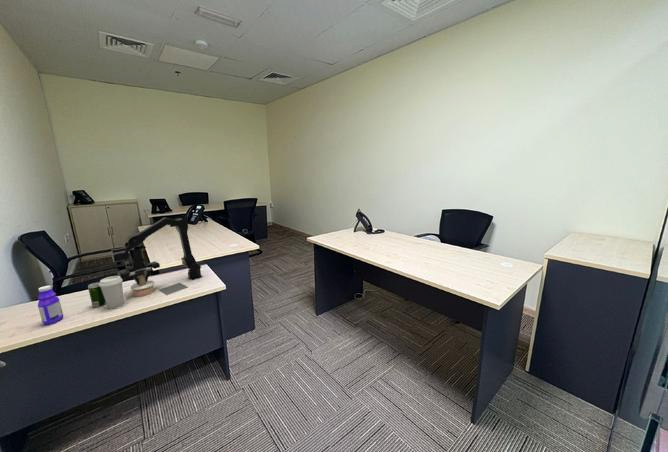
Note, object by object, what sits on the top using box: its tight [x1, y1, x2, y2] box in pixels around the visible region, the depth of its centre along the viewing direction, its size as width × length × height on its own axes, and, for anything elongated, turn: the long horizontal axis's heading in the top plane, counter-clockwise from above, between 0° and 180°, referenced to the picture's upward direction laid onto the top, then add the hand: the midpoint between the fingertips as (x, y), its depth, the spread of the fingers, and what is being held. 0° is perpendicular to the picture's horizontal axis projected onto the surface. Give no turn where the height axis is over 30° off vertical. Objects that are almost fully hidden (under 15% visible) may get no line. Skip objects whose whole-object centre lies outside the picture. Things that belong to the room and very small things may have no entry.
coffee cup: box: [99, 275, 125, 310], centre depth 136 cm, size 10×10×15 cm
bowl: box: [131, 285, 155, 297], centre depth 151 cm, size 10×10×4 cm
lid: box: [130, 274, 155, 291], centre depth 149 cm, size 11×11×6 cm
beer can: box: [87, 281, 107, 309], centre depth 137 cm, size 5×5×12 cm
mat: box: [158, 282, 189, 296], centre depth 155 cm, size 12×12×1 cm
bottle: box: [37, 285, 64, 325], centre depth 123 cm, size 7×6×17 cm
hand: (142, 283), depth 150 cm, fingers closed on lid, 4 cm apart
